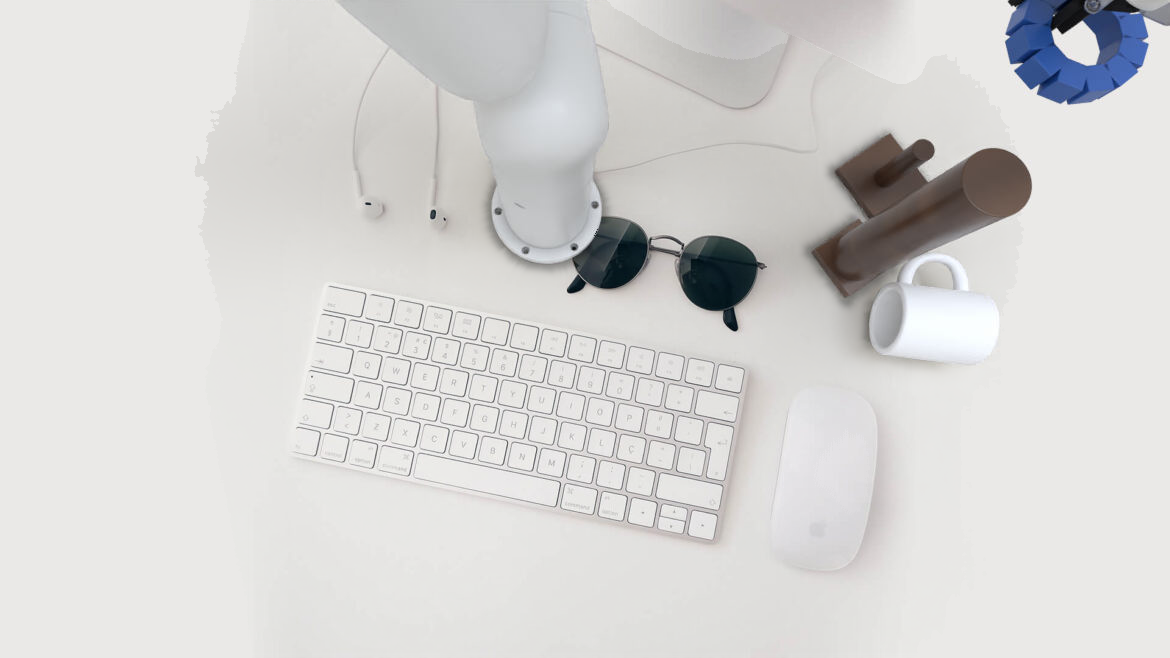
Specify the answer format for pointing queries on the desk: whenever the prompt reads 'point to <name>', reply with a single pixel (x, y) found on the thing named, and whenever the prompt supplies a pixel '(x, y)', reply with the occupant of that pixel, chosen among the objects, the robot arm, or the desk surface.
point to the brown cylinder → (928, 218)
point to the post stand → (885, 173)
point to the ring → (1066, 76)
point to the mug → (934, 318)
